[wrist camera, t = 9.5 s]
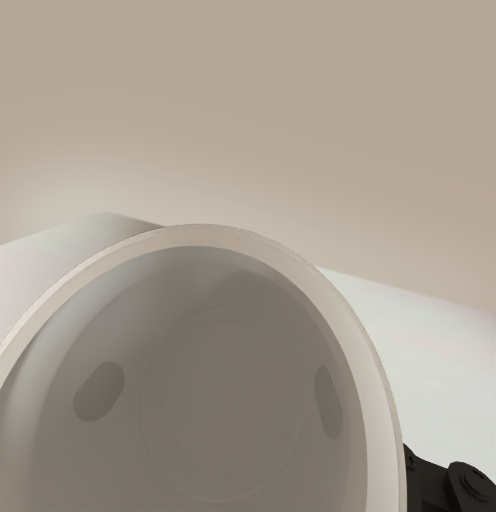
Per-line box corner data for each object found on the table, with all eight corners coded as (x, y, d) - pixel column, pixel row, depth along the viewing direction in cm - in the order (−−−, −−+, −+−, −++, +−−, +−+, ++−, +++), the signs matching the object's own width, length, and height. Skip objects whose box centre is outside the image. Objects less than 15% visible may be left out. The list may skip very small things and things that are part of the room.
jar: (182, 312, 21) (61, 210, 8) (297, 323, 21) (375, 232, 7) (149, 461, 17) (-273, 817, 3) (296, 481, 16) (505, 1027, 3)
